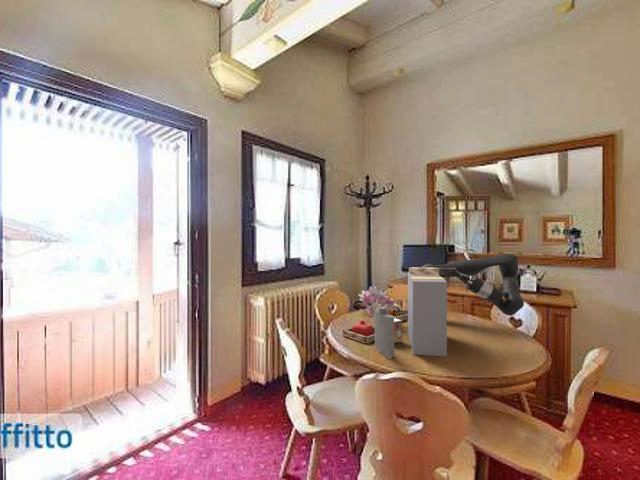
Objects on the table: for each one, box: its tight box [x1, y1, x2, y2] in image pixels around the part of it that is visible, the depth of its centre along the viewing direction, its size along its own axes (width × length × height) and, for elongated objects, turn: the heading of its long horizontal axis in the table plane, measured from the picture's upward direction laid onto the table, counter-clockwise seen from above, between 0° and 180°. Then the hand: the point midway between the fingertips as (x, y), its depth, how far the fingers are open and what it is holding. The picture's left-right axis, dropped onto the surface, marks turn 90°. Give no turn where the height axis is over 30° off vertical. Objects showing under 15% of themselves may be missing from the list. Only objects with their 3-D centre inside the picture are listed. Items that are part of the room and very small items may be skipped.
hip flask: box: [374, 307, 395, 359], centre depth 150 cm, size 16×4×20 cm, turn 14°
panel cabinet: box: [407, 271, 448, 357], centre depth 161 cm, size 14×32×32 cm, turn 169°
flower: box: [357, 285, 398, 327], centre depth 189 cm, size 20×22×25 cm
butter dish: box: [352, 319, 375, 337], centre depth 172 cm, size 12×12×8 cm
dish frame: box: [342, 326, 375, 344], centre depth 172 cm, size 17×16×3 cm
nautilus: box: [377, 303, 402, 317], centre depth 210 cm, size 8×22×15 cm
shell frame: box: [363, 307, 408, 322], centre depth 212 cm, size 26×20×3 cm
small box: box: [394, 318, 403, 344], centre depth 164 cm, size 8×6×10 cm
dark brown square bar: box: [408, 267, 456, 275], centre depth 166 cm, size 22×3×3 cm, turn 79°
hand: (449, 270), depth 165 cm, fingers open, 8 cm apart
